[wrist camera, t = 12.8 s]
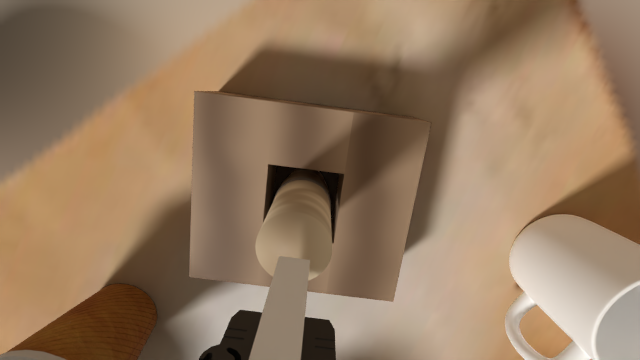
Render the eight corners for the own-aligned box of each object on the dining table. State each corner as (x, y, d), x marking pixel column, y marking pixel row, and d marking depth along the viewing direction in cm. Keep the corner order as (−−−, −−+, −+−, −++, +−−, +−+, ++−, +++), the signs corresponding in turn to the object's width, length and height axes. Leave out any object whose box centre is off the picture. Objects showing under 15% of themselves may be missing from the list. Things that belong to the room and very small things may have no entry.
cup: (617, 251, 30) (759, 328, 20) (513, 333, 32) (595, 438, 23) (560, 192, 29) (683, 245, 19) (456, 282, 31) (517, 371, 21)
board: (412, 117, 27) (431, 122, 22) (382, 268, 31) (393, 301, 26) (217, 91, 27) (194, 91, 22) (210, 247, 30) (189, 277, 26)
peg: (332, 165, 28) (338, 216, 17) (326, 210, 29) (327, 287, 18) (285, 159, 28) (257, 206, 17) (280, 204, 29) (251, 278, 18)
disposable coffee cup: (66, 331, 33) (-75, 460, 21) (90, 252, 31) (-52, 349, 19) (157, 365, 34) (69, 507, 22) (187, 291, 32) (108, 406, 20)
